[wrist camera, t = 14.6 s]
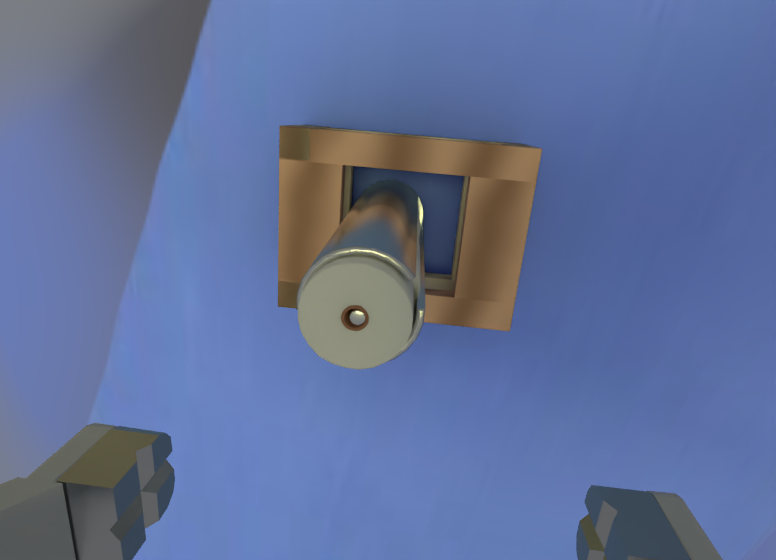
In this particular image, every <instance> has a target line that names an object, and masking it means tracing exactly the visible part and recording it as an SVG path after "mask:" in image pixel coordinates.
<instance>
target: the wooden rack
mask: <svg viewBox="0 0 776 560" xmlns="http://www.w3.org/2000/svg"><path fill="white" fill-rule="evenodd" d="M541 153H542V149H540V148H536V147H532V146H528V145H524V144H517V143H505V142H487V141H476V140H465V139H453V138H442V137H430V136H419V135H408V134H396V133H385V132H373V131H362V130H351V129H339V128H330V127H323V126H312V125H289V126H280V145H279V253H278V307H287V308H297V292H298V289H299V286H300V283H301V280H302V278H303V276H304V275H305V273H306V272H307V271H308V269H309V268H310V266H311V265H312V263H313V262H314V260H315V259H316V258H317V256H318V255H319V253H320V252H321V251H322V249H323V248H324V246H325V245H326V244H327V242H328V241H329V239H330V238H331V237H332V235H333V234H334V232H335V231H336V230H337V228H338V227H339V225H340V224H341V222H342V221H343V220H344V218H345V217H346V215H347V214H348V213H349V211H350V210H351V203H352V186H353V169H354V166H360V167H371V168H382V169H393V170H404V171H415V172H426V173H437V174H448V175H459V176H464V179H463V187H462V194H461V202H460V210H459V218H458V225H457V233H456V241H455V248H454V256H453V264H452V272H451V275H447V274H438V273H428V272H425V315H424V322H427V323H437V324H446V325H455V326H465V327H474V328H483V329H493V330H502V331H510V327H511V321H512V316H513V310H514V304H515V299H516V293H517V288H518V282H519V276H520V271H521V265H522V259H523V254H524V248H525V243H526V237H527V231H528V226H529V220H530V214H531V209H532V203H533V198H534V192H535V186H536V181H537V175H538V169H539V164H540V158H541Z"/></svg>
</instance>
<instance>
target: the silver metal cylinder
mask: <svg viewBox="0 0 776 560" xmlns="http://www.w3.org/2000/svg"><path fill="white" fill-rule="evenodd" d="M296 310H298V321H299V325H300V329H301V333H302V334H303V336H304V338H305V339H306V341H307V343H308V345H309V346H310V347H311V348H312V349H313V350H314V351H315V352H316V354H317V355H318V356H320V357H322V358H323V359H325V360H327V361H328V362H330V363H332V364H335V365H338V366H342V367H345V368H352V369H367V368H373V367H376V366H378V365H381V364H383V363H385V362H388V361H390V360H393V359H395V358H396V357H398V356H399V355H401V354H402V353H404V352H405V351H406V350H407V349H408V348H409V347H410V346H411V345H412V343H413V342H414V341H415V340H416V339H417V337H418V335H419V332H420V330H421V328H422V326H423V323H424V315H425V267H424V224H423V208H422V203H421V201H420V198H419V196H418V195H417V194H416V192H415V191H414V190H413V189H412V188H411V187H409V186H408V185H407V184H405V183H403V182H400V181H397V180H389V179H388V180H382V181H378V182H376V183H374V184H371V185H370V186H369V187H368V188H367V189H365V190H364V192H363V193H362V194H361V196H360V197H359V199H358V200H357V201H356V203H355V204H354V206H353V207H352V208H351V210H350V211H349V213H348V214H347V215H346V217H345V218H344V220H343V221H342V222H341V224H340V225H339V227H338V228H337V230H336V231H335V232H334V234H333V235H332V237H331V238H330V239H329V241H328V242H327V244H326V245H325V246H324V248H323V249H322V251H321V252H320V253H319V255H318V256H317V258H316V259H315V260H314V262H313V263H312V265H311V266H310V268H309V269H308V271H307V272H306V273H305V275H304V276H303V278H302V280H301V283H300V286H299V289H298V292H297V308H296Z"/></svg>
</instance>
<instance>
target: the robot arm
mask: <svg viewBox="0 0 776 560" xmlns="http://www.w3.org/2000/svg"><path fill="white" fill-rule="evenodd" d="M171 452H172V444H171V437H170V436H169V435H168V434H166V433H163V432H156V431H150V430H143V429H136V428H129V427H122V426H113V425H106V424H99V423H93V424H90V425H86V426H85V427H84V428H83V429H82V430H81V431H80V432H78V433H77V434H76V435H75V436H74V437H73V438H72V439H70V440H69V441H68V442H67V443H66V444H65V445H64V446H62V447H61V448H60V449H59V450H58V451H57V452H56V453H54V454H53V455H52V456H51V457H50V458H49V459H48V460H46V461H45V462H44V463H43V464H42V465H41V466H40V467H38V468H37V469H36V470H35V471H34V472H33V473H32V474H30V475H29V476H28V477H27V478H19V477H17V478H15V479H13V480H10V481H8V482H5V483H3V484H0V560H132V559H133V558H134V556H135V555H136V553H137V552H138V550H139V549H140V548H141V546H142V545H143V543H144V542H145V540H146V536H145V528H147V527H149V526H150V525H152V524H154V523H155V522H157V521H159V520H160V518H161V517H162V515H163V514H164V512H165V511H166V509H167V507H168V505H169V502H170V499H171V497H172V494H173V490H174V482H175V476H174V469H173V468H172V466H171V465H170V464H169V463H168V461H167V460H166V458H167V457H168V456H169V455H170V453H171ZM585 505H586V507H587V510H588V512H589V514H588V515H587V516H585V517H584V518H583V519H581V520H580V522H579V526H578V531H577V539H576V551H577V557H578V560H723V559H722V558H721V556H720V555H719V553H718V552H717V550H716V549H715V547H714V546H713V544H712V543H711V541H710V540H709V538H708V537H707V535H706V534H705V532H704V531H703V529H702V528H701V526H700V525H699V523H698V522H697V520H696V519H695V517H694V516H693V514H692V513H691V511H690V510H689V508H688V507H687V505H686V504H685V502H684V501H683V499H682V498H681V497H680V496H678V495H677V494H675V493H665V492H655V491H646V492H645V491H638V490H630V489H621V488H613V487H604V486H595V485H591V487H590V488H589V490H588V491H587V495H586V498H585Z"/></svg>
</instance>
